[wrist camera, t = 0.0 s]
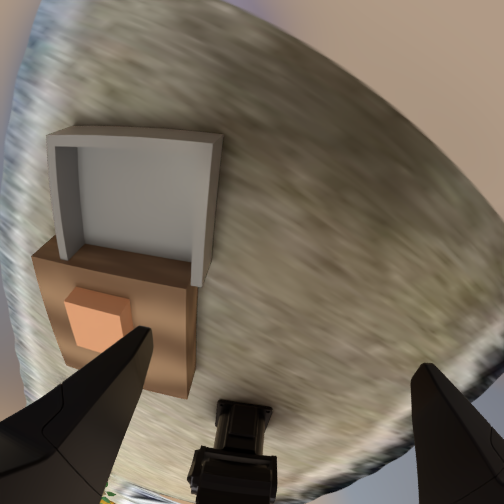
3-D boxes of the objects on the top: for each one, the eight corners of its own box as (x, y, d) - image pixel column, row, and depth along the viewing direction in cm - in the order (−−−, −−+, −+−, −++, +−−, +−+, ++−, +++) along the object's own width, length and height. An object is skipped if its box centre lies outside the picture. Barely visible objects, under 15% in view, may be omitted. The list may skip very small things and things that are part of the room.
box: (211, 261, 25) (201, 287, 22) (81, 238, 26) (60, 259, 23) (223, 134, 20) (212, 143, 17) (73, 125, 21) (46, 135, 17)
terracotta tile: (135, 343, 26) (128, 360, 24) (86, 330, 26) (77, 345, 24) (129, 299, 23) (119, 316, 21) (75, 286, 23) (63, 301, 21)
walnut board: (195, 369, 32) (187, 399, 29) (81, 340, 33) (66, 365, 29) (199, 259, 25) (186, 289, 22) (55, 234, 26) (31, 256, 22)
